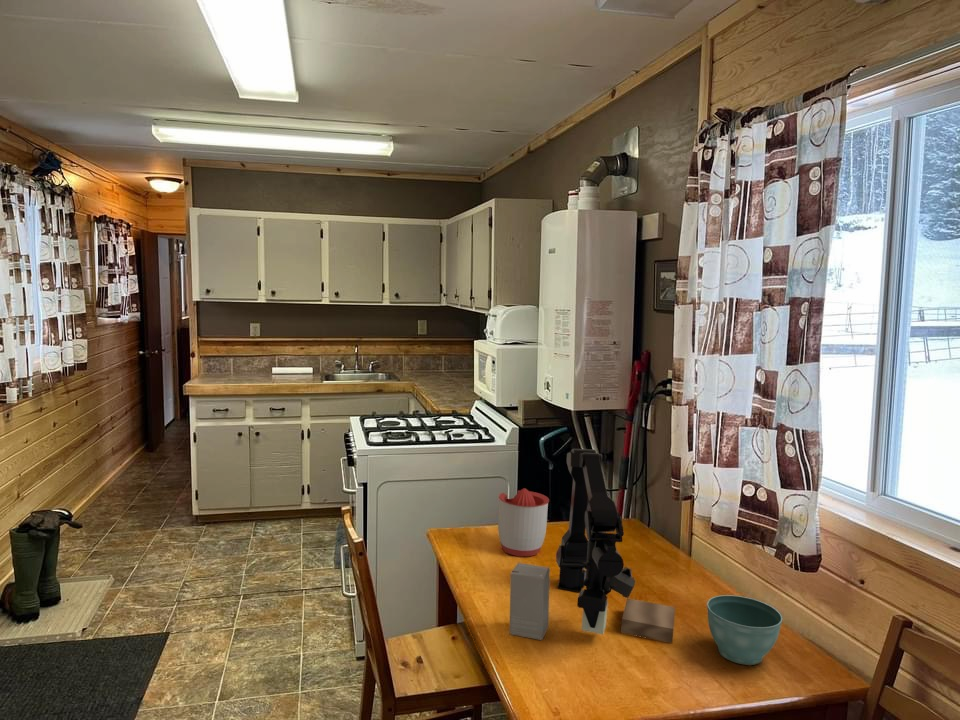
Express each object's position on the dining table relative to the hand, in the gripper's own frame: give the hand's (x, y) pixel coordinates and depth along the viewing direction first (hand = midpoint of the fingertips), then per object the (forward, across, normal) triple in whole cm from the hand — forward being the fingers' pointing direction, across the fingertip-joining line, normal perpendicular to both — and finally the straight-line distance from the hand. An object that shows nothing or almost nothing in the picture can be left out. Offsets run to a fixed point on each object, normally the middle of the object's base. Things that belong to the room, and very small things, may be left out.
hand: (594, 622), depth 162 cm
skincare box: (+4, -4, +15) cm, 16 cm away
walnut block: (+4, +11, -12) cm, 17 cm away
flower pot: (+4, +6, -33) cm, 34 cm away
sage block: (+1, 0, 0) cm, 1 cm away
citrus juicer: (+4, +46, +30) cm, 55 cm away
